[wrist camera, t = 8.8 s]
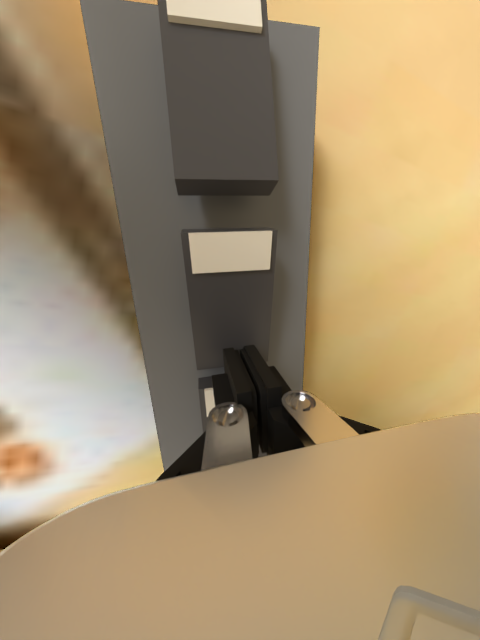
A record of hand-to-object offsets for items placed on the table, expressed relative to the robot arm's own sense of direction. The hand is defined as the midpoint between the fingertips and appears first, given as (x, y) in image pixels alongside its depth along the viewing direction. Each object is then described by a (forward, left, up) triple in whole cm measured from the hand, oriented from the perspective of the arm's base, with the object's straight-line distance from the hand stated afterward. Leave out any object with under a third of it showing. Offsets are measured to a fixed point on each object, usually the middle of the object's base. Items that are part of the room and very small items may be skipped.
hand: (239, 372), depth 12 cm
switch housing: (-4, 0, -7) cm, 8 cm away
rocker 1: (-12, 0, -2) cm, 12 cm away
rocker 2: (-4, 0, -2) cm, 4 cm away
